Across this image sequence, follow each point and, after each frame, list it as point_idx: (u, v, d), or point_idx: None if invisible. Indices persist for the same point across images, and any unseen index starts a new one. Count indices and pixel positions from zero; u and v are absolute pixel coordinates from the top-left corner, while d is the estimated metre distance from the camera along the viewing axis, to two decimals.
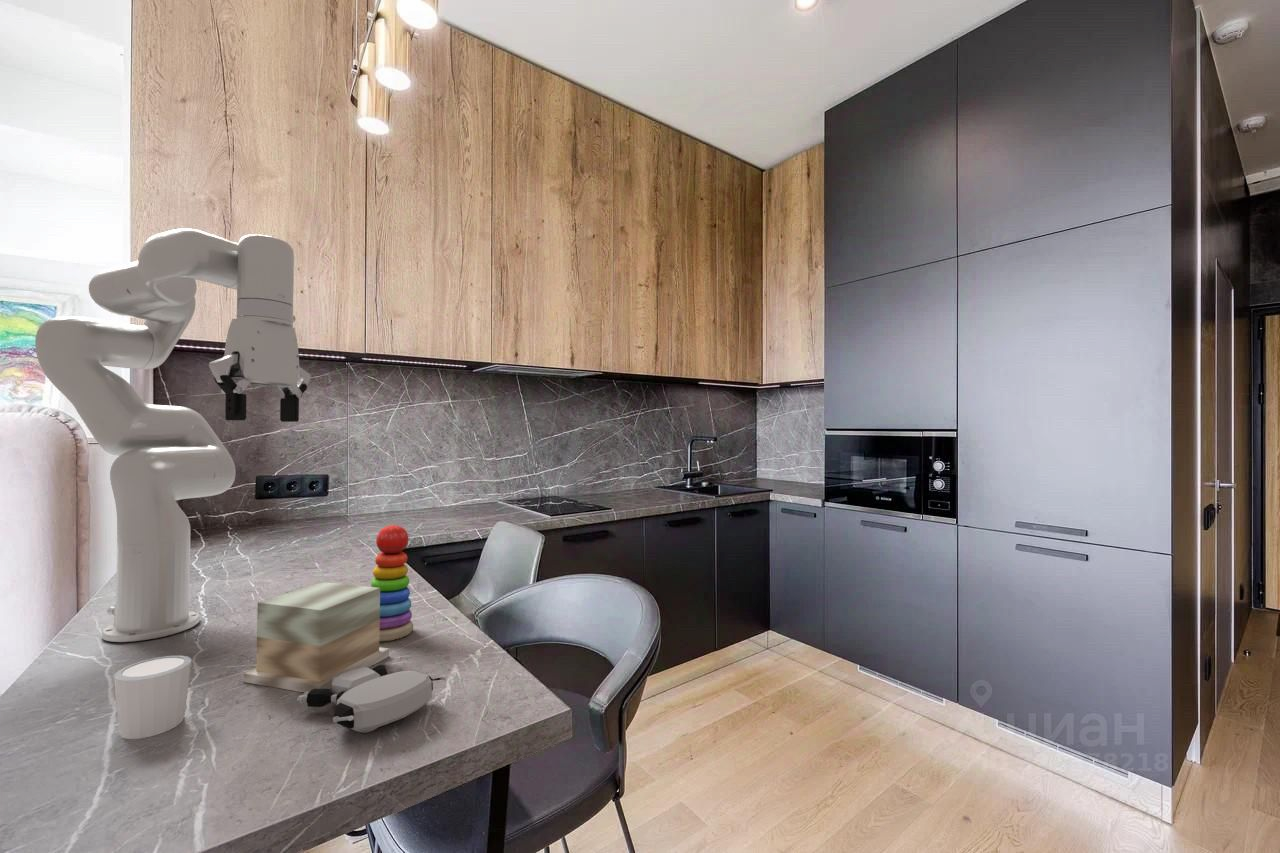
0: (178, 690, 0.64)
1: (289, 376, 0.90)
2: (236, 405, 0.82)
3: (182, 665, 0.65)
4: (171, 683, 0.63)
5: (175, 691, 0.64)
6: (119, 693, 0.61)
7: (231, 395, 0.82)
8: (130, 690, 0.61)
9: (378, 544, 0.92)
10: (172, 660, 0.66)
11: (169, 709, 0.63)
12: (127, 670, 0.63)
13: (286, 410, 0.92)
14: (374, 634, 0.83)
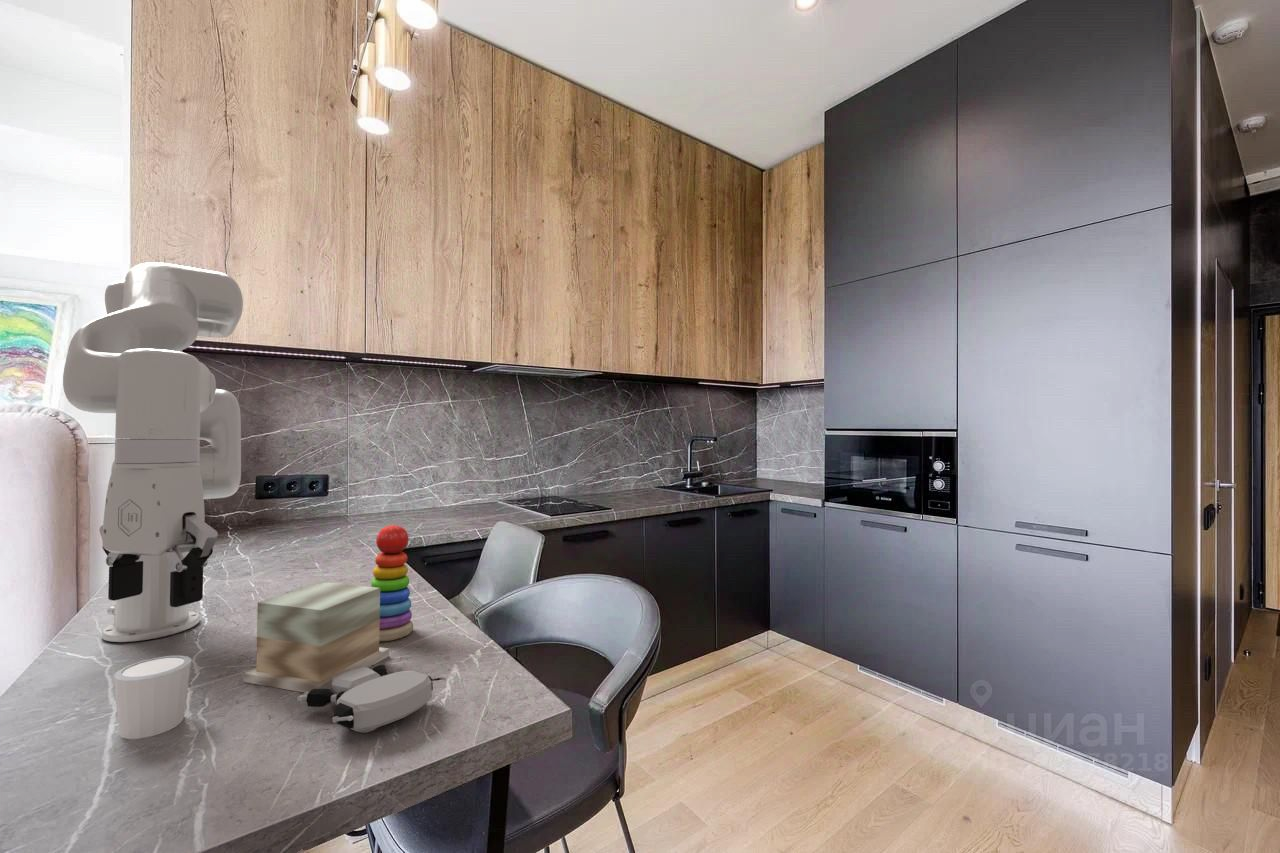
0: (178, 690, 0.64)
1: None
2: None
3: (182, 665, 0.65)
4: (171, 683, 0.63)
5: (175, 691, 0.64)
6: (119, 693, 0.61)
7: (196, 571, 0.63)
8: (130, 690, 0.61)
9: (378, 544, 0.92)
10: (172, 660, 0.66)
11: (169, 709, 0.63)
12: (127, 670, 0.63)
13: (126, 582, 0.65)
14: (374, 634, 0.83)
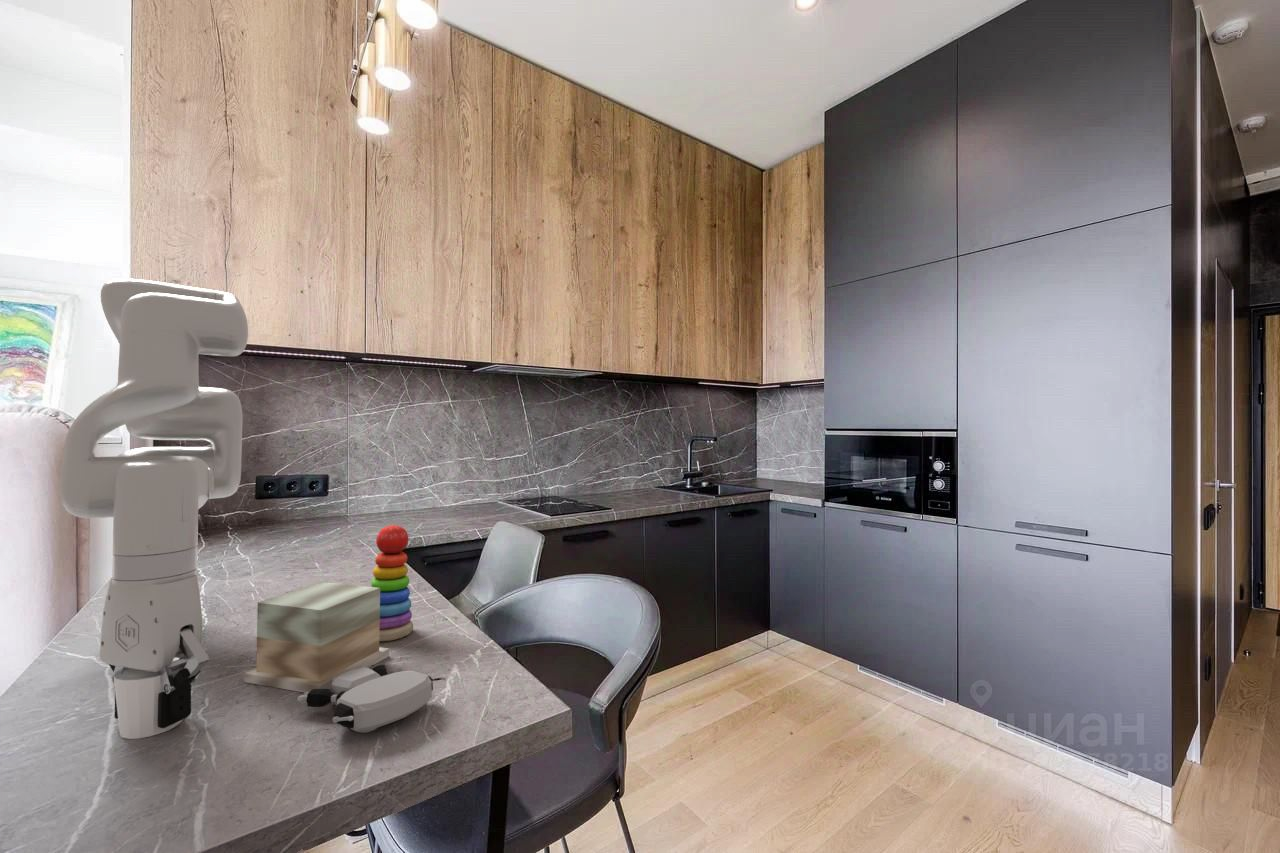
0: None
1: None
2: None
3: None
4: None
5: None
6: (119, 693, 0.61)
7: (184, 689, 0.63)
8: (130, 690, 0.61)
9: (378, 544, 0.92)
10: None
11: None
12: (127, 670, 0.63)
13: None
14: (374, 634, 0.83)
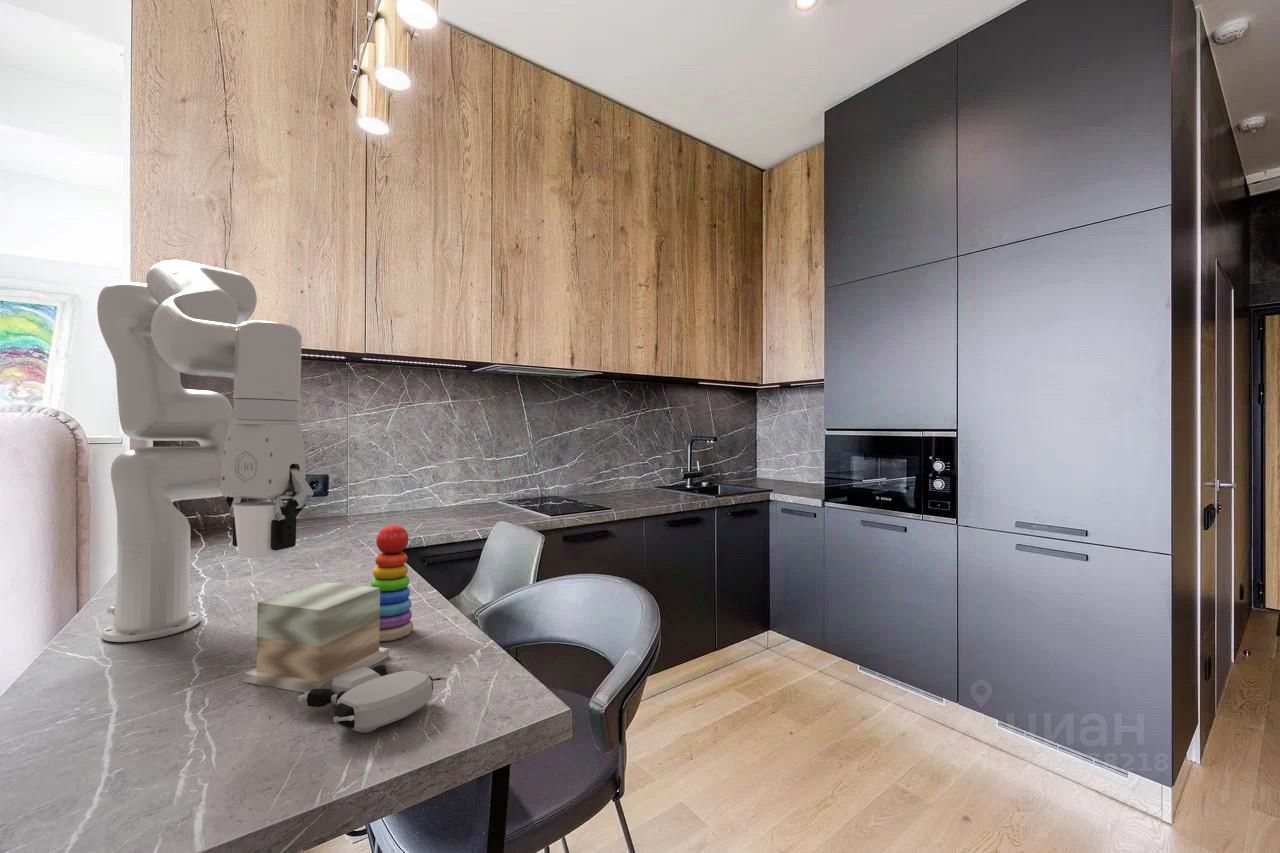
0: None
1: None
2: None
3: None
4: None
5: None
6: (239, 518, 0.71)
7: (291, 520, 0.73)
8: (248, 515, 0.70)
9: (378, 544, 0.92)
10: None
11: None
12: (243, 503, 0.73)
13: None
14: (374, 634, 0.83)
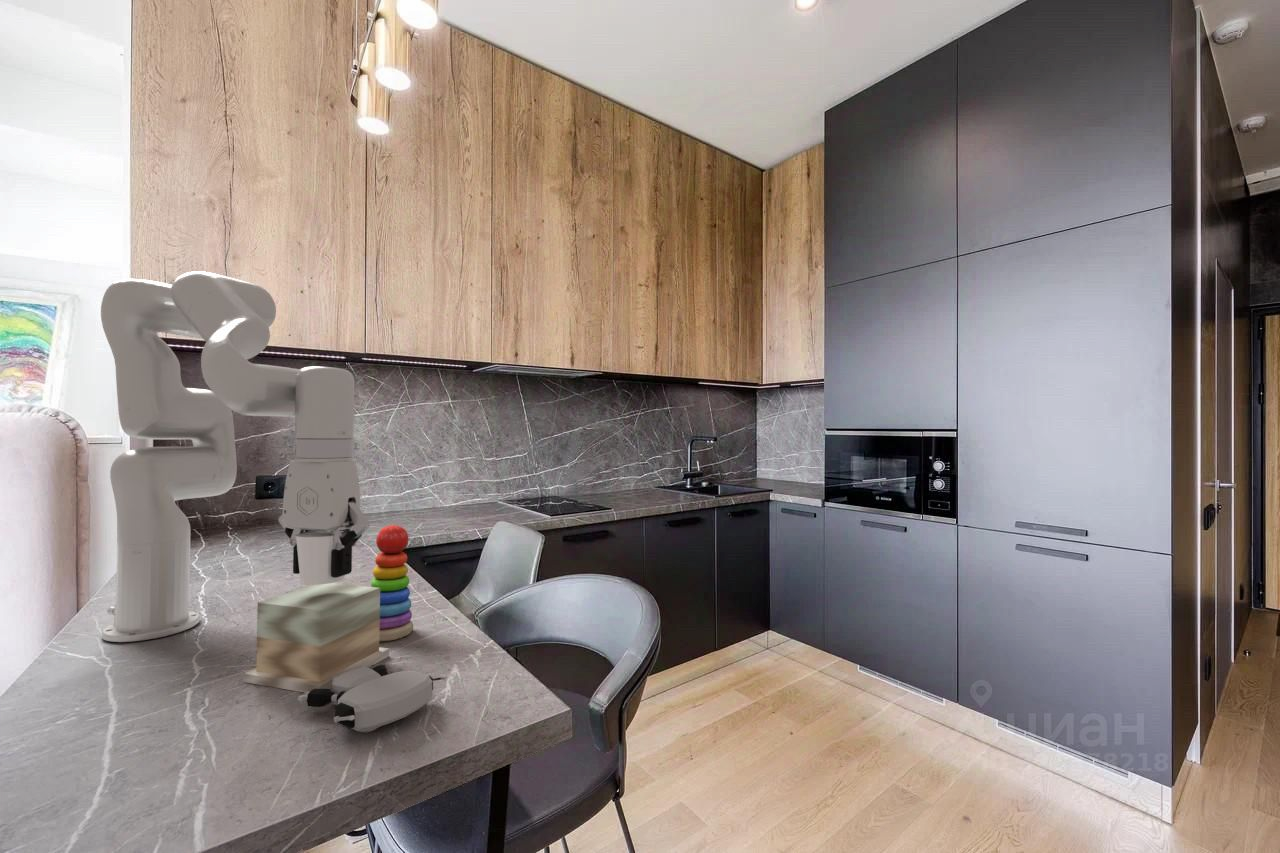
0: None
1: None
2: None
3: (344, 532, 0.81)
4: None
5: None
6: (302, 548, 0.77)
7: (349, 549, 0.79)
8: (311, 545, 0.77)
9: (378, 544, 0.92)
10: None
11: None
12: (303, 534, 0.79)
13: None
14: (374, 634, 0.83)
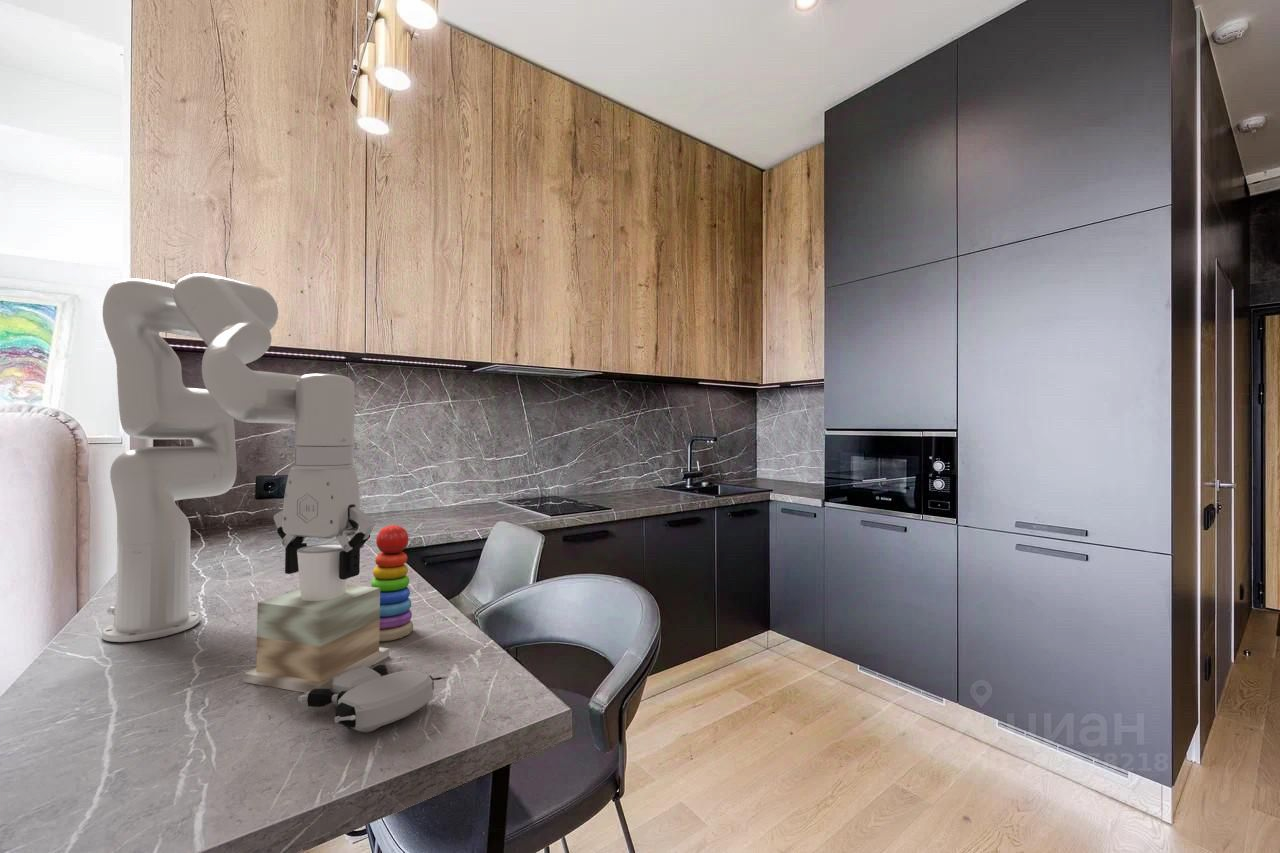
0: None
1: None
2: None
3: None
4: None
5: None
6: (303, 564, 0.77)
7: (357, 551, 0.79)
8: (312, 561, 0.77)
9: (378, 544, 0.92)
10: (335, 545, 0.82)
11: (338, 580, 0.79)
12: (305, 549, 0.79)
13: (297, 559, 0.81)
14: (374, 634, 0.83)
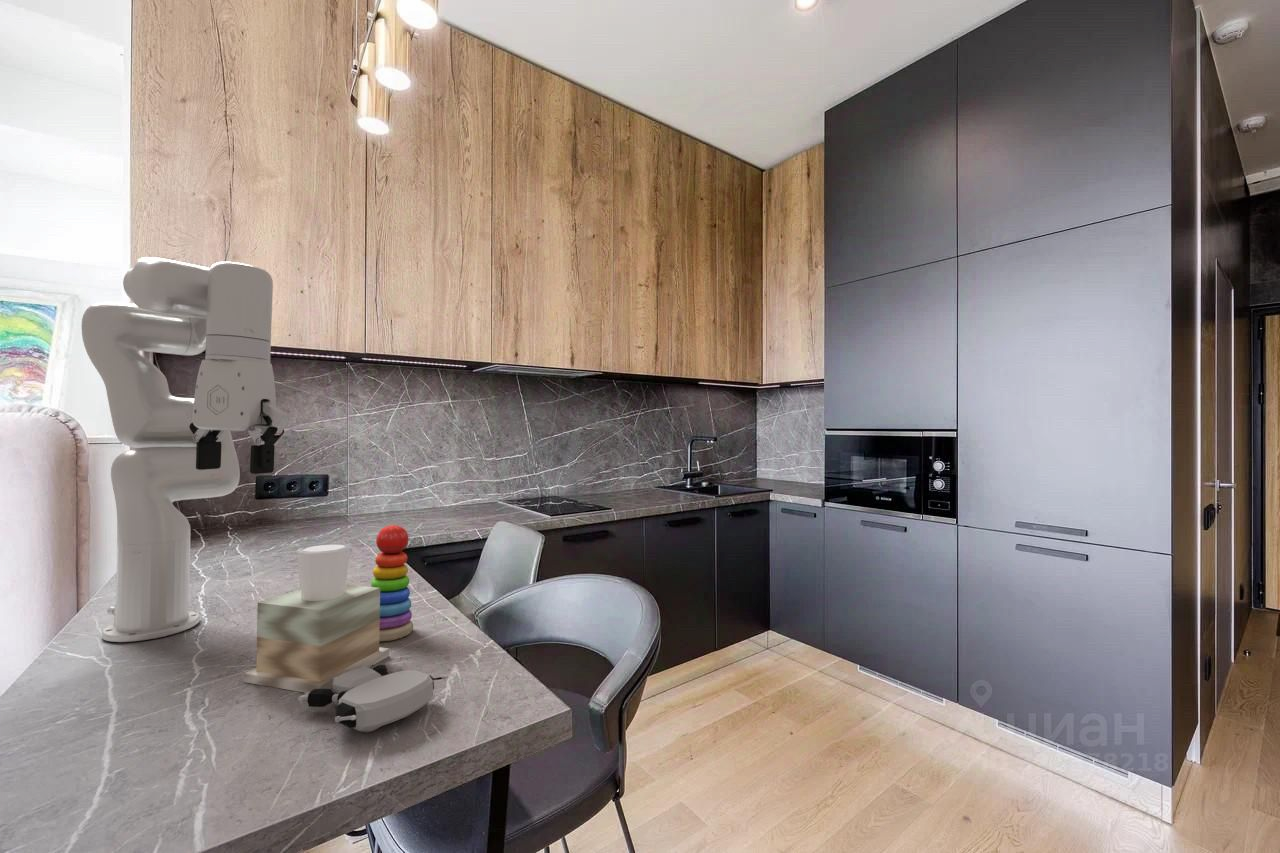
0: (344, 566, 0.80)
1: None
2: None
3: (345, 547, 0.80)
4: (340, 559, 0.79)
5: (342, 566, 0.79)
6: (303, 564, 0.77)
7: (270, 447, 0.77)
8: (312, 561, 0.77)
9: (378, 544, 0.92)
10: (335, 545, 0.82)
11: (338, 580, 0.79)
12: (305, 549, 0.79)
13: (209, 456, 0.79)
14: (374, 634, 0.83)
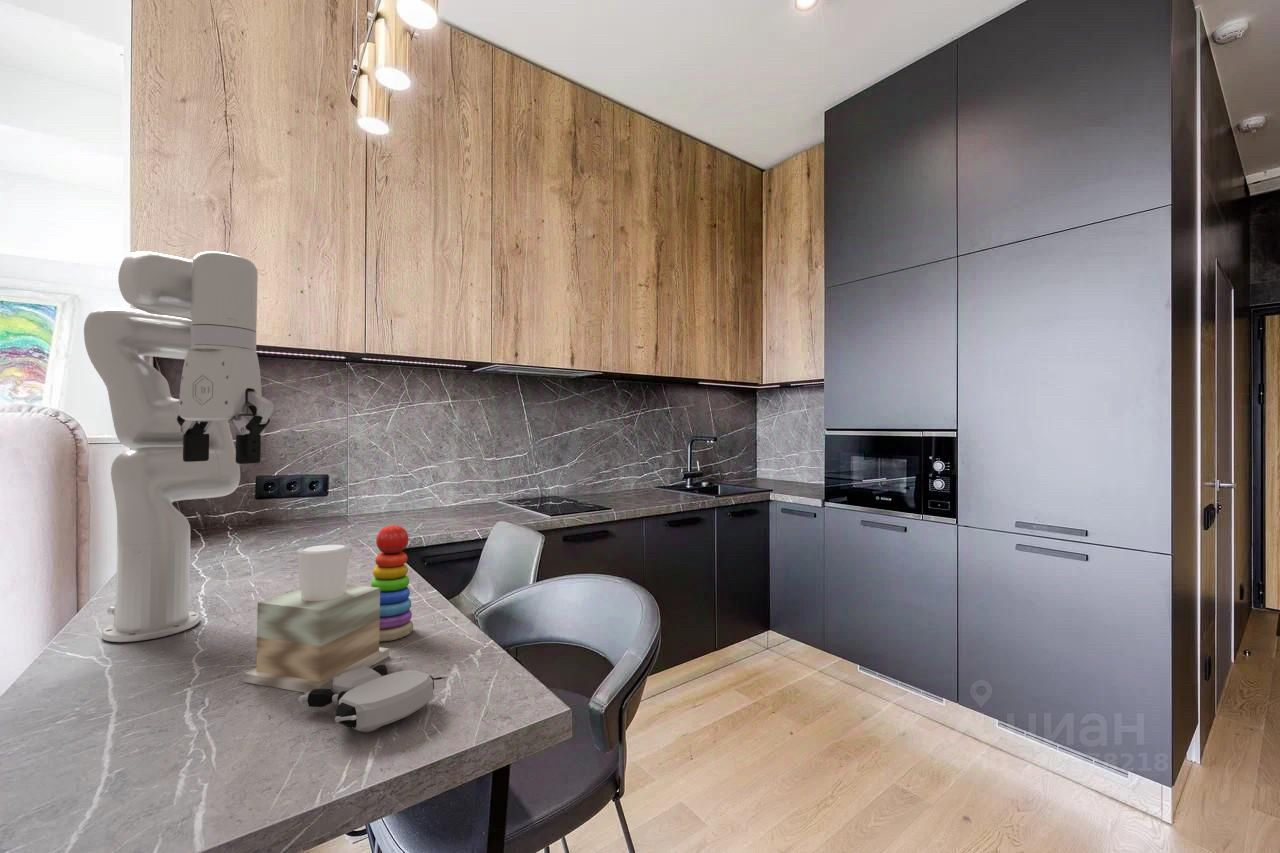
0: (344, 566, 0.80)
1: None
2: None
3: (345, 547, 0.80)
4: (340, 559, 0.79)
5: (342, 566, 0.79)
6: (303, 564, 0.77)
7: (256, 436, 0.76)
8: (312, 561, 0.77)
9: (378, 544, 0.92)
10: (335, 545, 0.82)
11: (338, 580, 0.79)
12: (305, 549, 0.79)
13: (197, 448, 0.79)
14: (374, 634, 0.83)
